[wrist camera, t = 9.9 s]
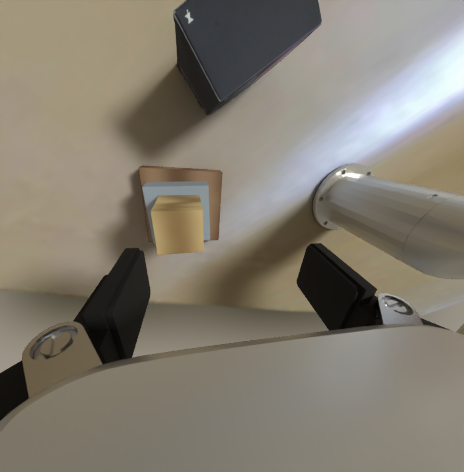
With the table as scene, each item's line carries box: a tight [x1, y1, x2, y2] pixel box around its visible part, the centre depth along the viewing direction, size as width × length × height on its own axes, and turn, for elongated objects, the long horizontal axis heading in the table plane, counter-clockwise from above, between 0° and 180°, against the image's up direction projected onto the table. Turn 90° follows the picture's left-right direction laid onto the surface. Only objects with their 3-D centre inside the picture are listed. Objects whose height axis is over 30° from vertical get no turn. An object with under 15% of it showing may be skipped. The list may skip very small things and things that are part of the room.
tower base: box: [139, 166, 222, 242], centre depth 28 cm, size 11×11×3 cm
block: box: [151, 195, 204, 255], centre depth 22 cm, size 5×5×6 cm
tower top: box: [142, 181, 210, 244], centre depth 26 cm, size 8×8×3 cm
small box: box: [173, 0, 322, 115], centre depth 18 cm, size 11×6×10 cm, turn 123°
